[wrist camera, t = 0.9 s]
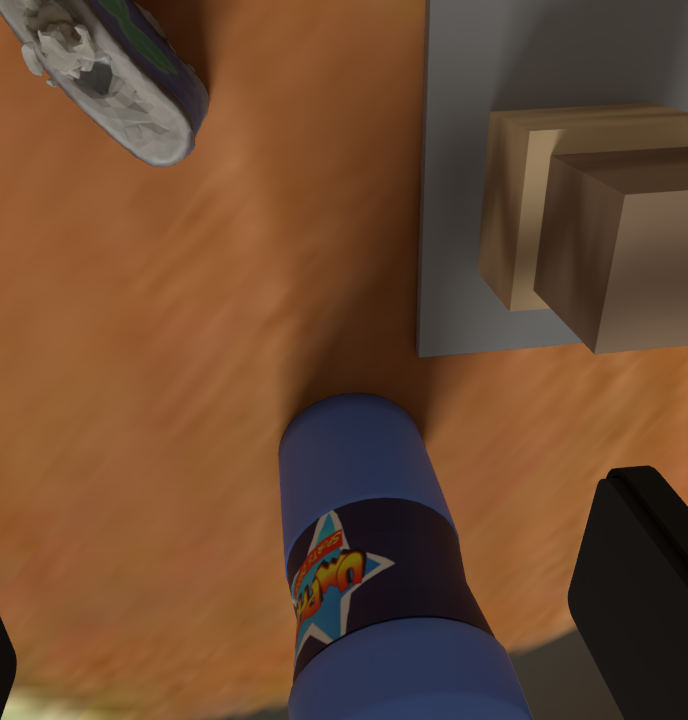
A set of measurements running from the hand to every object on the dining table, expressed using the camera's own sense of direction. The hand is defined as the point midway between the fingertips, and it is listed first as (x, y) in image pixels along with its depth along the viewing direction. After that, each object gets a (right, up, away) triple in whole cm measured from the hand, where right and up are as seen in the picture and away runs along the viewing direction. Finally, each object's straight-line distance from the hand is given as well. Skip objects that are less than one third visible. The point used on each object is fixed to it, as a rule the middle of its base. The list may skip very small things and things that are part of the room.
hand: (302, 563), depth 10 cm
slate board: (+11, +12, +23) cm, 28 cm away
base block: (+12, +12, +22) cm, 28 cm away
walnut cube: (+12, +9, +18) cm, 24 cm away
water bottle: (+1, -3, +30) cm, 30 cm away
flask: (-9, +17, +17) cm, 26 cm away
